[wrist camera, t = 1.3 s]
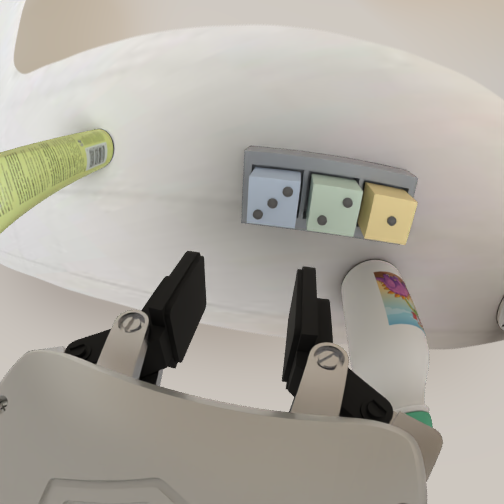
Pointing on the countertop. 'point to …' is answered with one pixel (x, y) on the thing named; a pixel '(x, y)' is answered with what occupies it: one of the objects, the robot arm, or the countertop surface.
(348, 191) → the pale green cube
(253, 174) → the blue pip cube
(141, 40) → the countertop surface
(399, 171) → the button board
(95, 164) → the tube
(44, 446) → the robot arm
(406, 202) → the single pip yellow cube
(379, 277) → the milk bottle
